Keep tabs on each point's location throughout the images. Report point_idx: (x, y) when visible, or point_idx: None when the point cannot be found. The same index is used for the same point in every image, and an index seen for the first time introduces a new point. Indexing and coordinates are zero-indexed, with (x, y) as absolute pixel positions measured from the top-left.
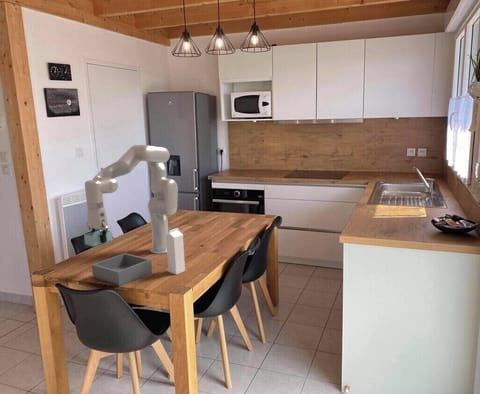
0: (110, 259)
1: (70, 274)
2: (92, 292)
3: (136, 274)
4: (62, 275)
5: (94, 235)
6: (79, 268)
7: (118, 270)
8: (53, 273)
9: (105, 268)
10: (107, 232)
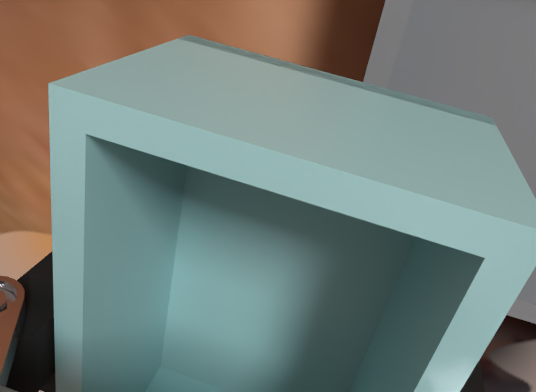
0: (394, 61)
1: None
2: (502, 388)
3: None
4: None
5: (123, 317)
6: (70, 57)
7: (475, 22)
8: (14, 190)
9: (531, 321)
10: (466, 372)
